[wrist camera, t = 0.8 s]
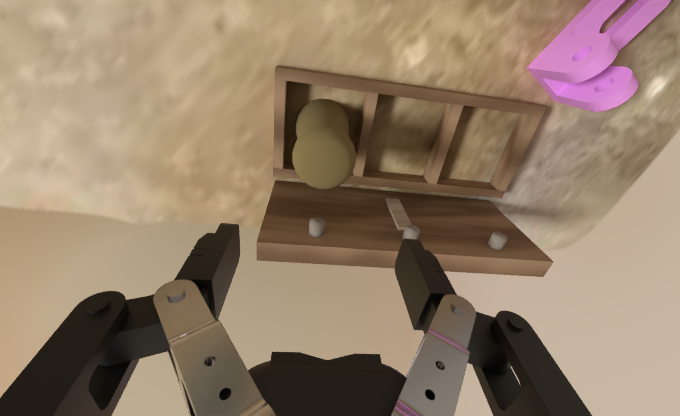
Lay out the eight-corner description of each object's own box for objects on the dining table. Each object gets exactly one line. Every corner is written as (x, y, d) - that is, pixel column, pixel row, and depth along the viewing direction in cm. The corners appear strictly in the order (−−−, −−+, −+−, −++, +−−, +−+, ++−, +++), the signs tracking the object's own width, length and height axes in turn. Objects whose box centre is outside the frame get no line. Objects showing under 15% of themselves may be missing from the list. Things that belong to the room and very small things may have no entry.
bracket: (553, 101, 31) (609, 115, 25) (525, 67, 29) (579, 74, 23) (676, -16, 26) (782, -33, 20) (653, -66, 24) (762, -101, 18)
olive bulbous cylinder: (337, 88, 29) (347, 113, 19) (357, 141, 32) (374, 184, 22) (285, 112, 30) (270, 145, 20) (309, 161, 33) (306, 210, 23)
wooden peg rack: (277, 65, 27) (253, 80, 17) (534, 103, 31) (642, 134, 21) (275, 194, 35) (256, 260, 24) (482, 213, 38) (543, 276, 28)
